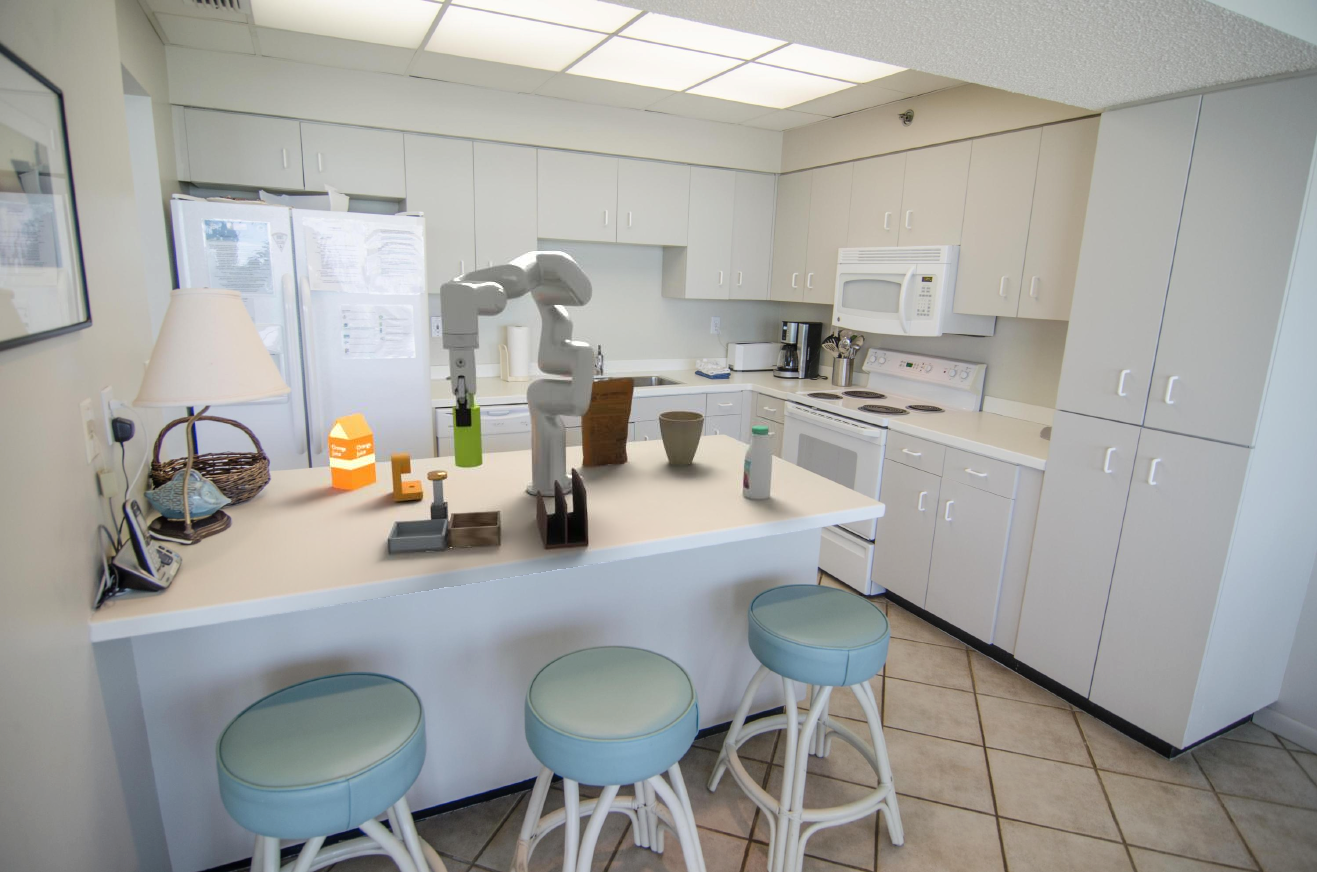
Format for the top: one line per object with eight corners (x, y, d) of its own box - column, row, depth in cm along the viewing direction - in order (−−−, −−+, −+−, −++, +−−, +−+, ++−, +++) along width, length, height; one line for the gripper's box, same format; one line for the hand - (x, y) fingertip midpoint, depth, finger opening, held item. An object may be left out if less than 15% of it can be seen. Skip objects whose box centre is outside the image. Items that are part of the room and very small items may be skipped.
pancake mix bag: (637, 463, 220) (639, 378, 213) (583, 470, 211) (583, 381, 204) (628, 458, 226) (629, 375, 219) (575, 464, 216) (575, 378, 210)
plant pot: (660, 455, 230) (661, 409, 226) (704, 458, 228) (706, 412, 224) (654, 467, 215) (655, 418, 212) (700, 470, 213) (702, 421, 210)
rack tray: (448, 532, 158) (447, 518, 158) (445, 550, 148) (444, 535, 147) (396, 535, 156) (395, 521, 155) (388, 554, 146) (387, 539, 145)
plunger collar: (451, 523, 164) (450, 500, 162) (450, 531, 159) (449, 507, 158) (430, 525, 163) (429, 501, 161) (428, 532, 158) (426, 508, 157)
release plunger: (450, 519, 163) (447, 470, 160) (448, 526, 159) (446, 475, 156) (431, 520, 162) (428, 470, 159) (429, 527, 158) (426, 476, 155)
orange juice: (331, 486, 189) (325, 417, 184) (356, 478, 197) (350, 411, 192) (353, 490, 186) (347, 420, 181) (377, 482, 194) (371, 414, 189)
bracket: (423, 501, 179) (420, 458, 176) (394, 504, 177) (391, 460, 174) (421, 489, 189) (418, 448, 186) (393, 491, 186) (390, 450, 183)
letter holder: (575, 516, 171) (575, 463, 168) (588, 546, 153) (588, 487, 150) (536, 519, 169) (534, 465, 165) (544, 550, 150) (543, 490, 147)
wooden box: (500, 528, 162) (500, 510, 161) (500, 545, 152) (500, 526, 151) (452, 531, 159) (451, 513, 158) (449, 548, 150) (448, 529, 149)
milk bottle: (773, 494, 192) (777, 426, 187) (765, 502, 185) (770, 431, 181) (747, 490, 195) (751, 422, 190) (738, 497, 188) (742, 428, 184)
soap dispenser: (453, 460, 154) (448, 373, 149) (484, 460, 154) (480, 373, 150) (448, 467, 148) (443, 377, 143) (480, 467, 149) (476, 377, 144)
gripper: (478, 345, 137) (481, 431, 141) (479, 337, 153) (482, 414, 158) (439, 345, 135) (444, 432, 140) (445, 337, 152) (449, 415, 156)
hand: (464, 422), depth 149 cm, fingers closed on soap dispenser, 5 cm apart
